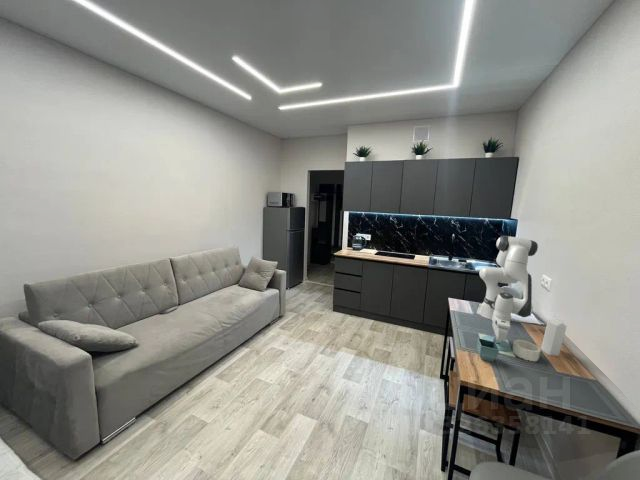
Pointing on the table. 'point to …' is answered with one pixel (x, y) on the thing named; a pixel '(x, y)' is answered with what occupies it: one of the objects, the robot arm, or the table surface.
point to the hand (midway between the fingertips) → (496, 340)
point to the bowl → (526, 350)
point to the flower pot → (487, 349)
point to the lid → (501, 345)
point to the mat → (507, 353)
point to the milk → (553, 336)
